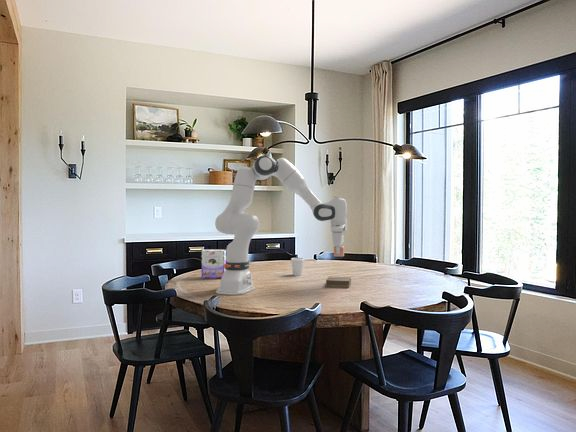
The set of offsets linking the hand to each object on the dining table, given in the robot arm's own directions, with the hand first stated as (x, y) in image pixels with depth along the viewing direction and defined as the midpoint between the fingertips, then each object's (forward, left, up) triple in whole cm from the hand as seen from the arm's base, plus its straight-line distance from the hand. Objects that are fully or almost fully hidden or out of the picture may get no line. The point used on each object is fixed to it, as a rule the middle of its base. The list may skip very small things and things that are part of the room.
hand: (338, 253), depth 251 cm
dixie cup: (+27, +28, -18) cm, 42 cm away
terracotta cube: (0, 0, -2) cm, 2 cm away
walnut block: (0, 0, -18) cm, 18 cm away
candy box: (+7, +74, -18) cm, 76 cm away
